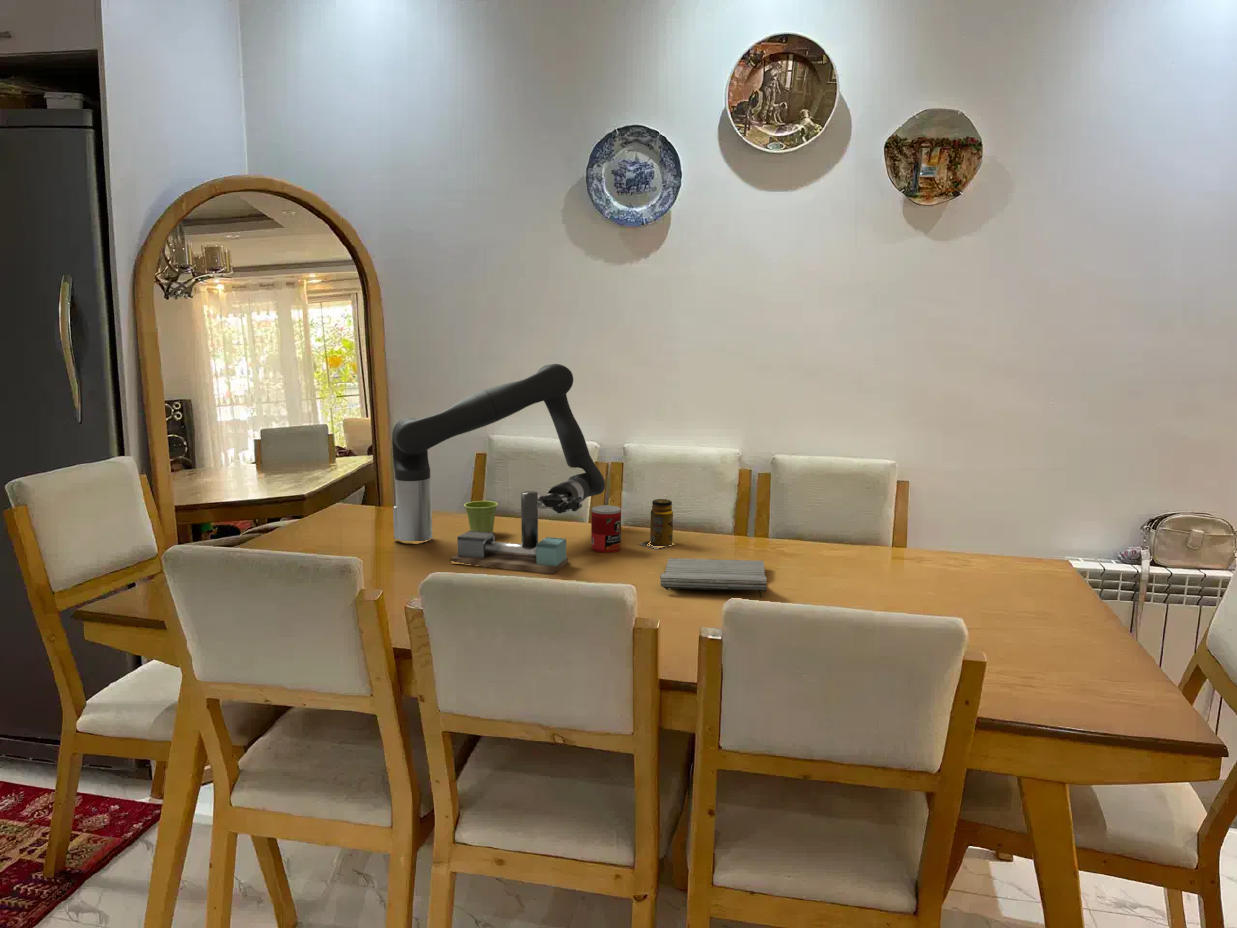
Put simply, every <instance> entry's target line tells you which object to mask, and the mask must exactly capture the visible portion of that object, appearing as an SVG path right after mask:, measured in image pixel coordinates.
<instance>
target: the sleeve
mask: <svg viewBox="0 0 1237 928" xmlns="http://www.w3.org/2000/svg"><path fill="white" fill-rule="evenodd" d="M495 534H496V533H495V532H493V533H490V532H478V531H470V530H467V531H466V532H464V533H462V534H460V535H457V554H458V557H469V558H479V559H484V558H485V541H493V542H496V541H495V539H496V536H495Z"/></svg>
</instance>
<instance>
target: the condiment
mask: <svg viewBox="0 0 1237 928" xmlns="http://www.w3.org/2000/svg"><path fill="white" fill-rule="evenodd" d="M651 503H652V506H651V510H650V524H649V525H650V529H649V530H650V533H649V534H650V535H649V537H650V540H649V541H644V542H639V543H638V545H641V546H644V547H647V548H649V547H650V548H652V549H653V548H654V549H655V550H660V549H659V548H657V547H653V546H669V545H672V542H673V538H674V537H673V535H674V534H673V533H674V532H673V530H674V528H673V527H674V511H673V507H672V505H673V503H672V501H671V500H670V499H666V498H658V499H653V500H652V502H651ZM650 541H651V543H650V544H651V545H653V546H651V545H650V546H647V544H648V543H649V542H650ZM648 545H649V544H648ZM650 548H649V549H650ZM661 548H662V549H664V548H663V547H661ZM654 549H653V550H654Z"/></svg>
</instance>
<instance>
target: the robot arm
mask: <svg viewBox="0 0 1237 928" xmlns="http://www.w3.org/2000/svg"><path fill="white" fill-rule="evenodd" d="M573 384H574V374H573V372H572V371H571V370H570V368H568V367H566V366H565V365H562V364H559V363H552V364H551V363H550V364H546V365H544V366H541V367H540V368H539V369H538V370H537V372H536V373H534V374H532V375H530V376H528V377H525V378H523V379H520V380H517V381H511V382H508V383H503V384H500V385H495V386H492V387H489V388H486V389H483V390H480V391H478V392H475V393H473V394H470V395H468V396H466V397H464V398H462V399H460V400H459V401H458V402H456V403H454V404H453V405H451V406H450V407H448V408H447V409H445V410H443V411H441V412H438V413H435V414H433V415H429V416H425V417H422V418H418V419H417V418H414V417H405V418H401V419H400V420H399V421H397V423H396V424H394V426H393V429H392V434H391V441H392V443H391V445H392V461H393V469H394V470H393V471H394V480H395V481H394V483H395V485H394V486H395V505H394V506H393V508H392V514H393V515H392V516H393V517H392V518H393V519H392V521H393V538H395V539H399V540H401V541H425V540H429V539H431V538H432V539H433V517H432V513H433V511H432V486H431V481H432V479H431V468H430V463H429V451H428V450H430V449H431V448H433V447H436V446H437V445H438V444H441V443H443V442H444V441H446V440H449V439H451V438H453V437H456V436H460V435H463V434H465V433H470V432H472V431H474V430H478V429H481V428H483V427H484V428H485V427H486V426H489V425H491V424H494V423H496V422H498V421H502V420H503V419H506V418H507V417H509V416H512V415H514V414H516V413H518V412H520V411H521V410H524V409H525V408H527V407H529V406H533V405H534V404H537V403H540V402H544V405H545V406H546V408H547V410H548V413H549V416H550V417H551V420H552V423H553V425H554V428H555V431H556V435H557V438H558V439H559V440H558V441H559V443H560V446H561V450H562V453H563V455H564V458H565V462H566V465H567V466H568V467H569V468H573V469H582V470H583V471H584V472H581V473H578V474H575V475H572V476H569V478H568V480H565V481H561V482H560V483H558V484H556V485H553V486H552V487H551V488H550V489H549V490H548V492H547V493H546V494H541V495H538V510H547V509H549V510H551V509H552V510H553V512H556V513H557V514H562V513H567V512H569V511H570V510H571V511H572V512H577V511H578V510H580V509H581V508H582V507H583V501H585V500H586V499H587V498H588V497H593V496H594V497H595V496H597V495H601V494H602V493H603V492H604V491H605V489H606V488H605V487H606V481H605V478H604V476H603V474H602V472H601V470H599V468H598V467H597V465H596V463H595V462H594V460H593V458H592V456H591V454H590V452H589V448H588V445H587V442H586V439H585V435H584V434H583V432H582V430H581V428H580V426H579V424H578V422H577V420H576V418H575V416H574V414H573V412H572V409H571V407H570V404H569V400H568V397H567V394H568V392H569V391H571V389H572V386H573Z"/></svg>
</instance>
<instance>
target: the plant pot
mask: <svg viewBox="0 0 1237 928" xmlns="http://www.w3.org/2000/svg"><path fill="white" fill-rule="evenodd" d="M498 506H499V503H498V502H496V501H492V500H479V501H478V500H476V501H470V502H466V503H464V505H463V507H464V508H465V512H466V514H467V519H468V525H469V531H478V532H490V533H494V528H495V527H494V526H495V525H494V524H495V515H496V510H497V507H498Z"/></svg>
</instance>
